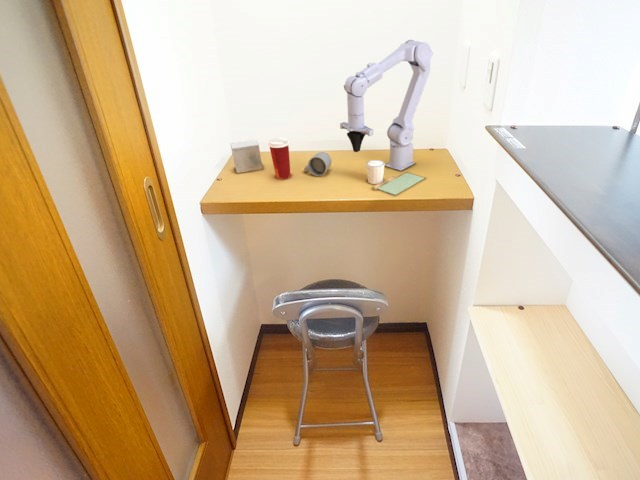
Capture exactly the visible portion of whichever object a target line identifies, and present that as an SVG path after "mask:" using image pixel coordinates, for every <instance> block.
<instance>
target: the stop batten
mask: <svg viewBox="0 0 640 480" xmlns="http://www.w3.org/2000/svg"><path fill="white" fill-rule="evenodd" d="M396 178H397V177H396V176H395V175H393V176H391V177H389V178H387V179H385V180H383V182H381V183H379V184H374V185H373V186H372V189H373V190H374V191H376V190H378V189H377V188H379V187H381V186H383V185H385V184H387V183H388V182H390V181H392V180H394V179H396Z"/></svg>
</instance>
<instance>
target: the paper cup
mask: <svg viewBox="0 0 640 480" xmlns="http://www.w3.org/2000/svg"><path fill="white" fill-rule="evenodd" d="M289 145H290V142H289V140H288V139H287V138H285V137H276V138H271V139H270V140H269V142H268V145H267V146H268V147H269V151H270V154H271V160H272V165H273V170H274V174H275V178H277V179H279V180H286V179H289V178H290V177H291V160H290V149H289V148H290V147H289Z"/></svg>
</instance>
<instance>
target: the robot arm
mask: <svg viewBox="0 0 640 480" xmlns="http://www.w3.org/2000/svg"><path fill="white" fill-rule="evenodd" d="M433 54H434V53H433V50H432V48H431V46H430V44H429V43H428V42H425V41H418V40H414V39H408V40H406V41H405V42H403V43H401V44H400V45H399V46H398V47H397V48H396V49H394V51H392V52H391V53H390V54H388V55H387V56H386V57H385V58H383V59H382V60H381V61H379V62H378V63H377V62H369V63H367V64H366V67H364V68H363V69H362V70H360V71H357V72H356V73H355V75H350V76H348V77H347V78H346V80H345V82H344V84H343V89H344V91H345V92H346V104H347V122H345V121H342V122H339V129H341V130H347V131H348V132H346V136H347V137H348V139H349V141H350V144H351V146H352V150H353V153H359V152H360V151H361V148H362V144H363V140H364V138H365V136H368V137H372V136H373V135H374V129H373V128H370V127H368V126H367V125H365V97H364V96H365V94H366V92H367V90H368V89H369V88H370V87H371V86H374V84H376V83H377V82H379V81H380V80H382V78H383V76H384V73H385V72H387V71H389V70H391V69H392V68H393V67H395V66H397V65H399V64H400V63H402V62H407V63H408V64H409V65H410V67H411V70H412V75H411V78H410V80H409V83H408V87H407V90H406V93H405V95H404V97H403V101H402V104H401V107H400V109H399V110H400V111H399V113H398V114H397V116H396V117H395V118H393V119H392V122H391V124H390V125H389V126H388V128H387V130H386V136H387V138H388V140H389V162H388V163H385V165H384V167H386V168H390V169H394V170H397V171H400V172H401V171H403V170H405V169H407V168H410V167H411V166H413V165H414V164H415V162H414V159H413V158H414V145H413V143H412V141H413V139H414V138H413V137H414V135H413V133H414V130H415V126H414V123H413V119H414V116H415V114H416V111H417V109H418V105H419V103H420V101H421V97H422V94H423V92H424V88H425V86H426V84H427V80H428V78H429V76H430V74H431V73H430V72H431V59H432V56H433Z"/></svg>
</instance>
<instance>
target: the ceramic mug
mask: <svg viewBox="0 0 640 480" xmlns="http://www.w3.org/2000/svg"><path fill="white" fill-rule="evenodd" d="M331 165H332V157H331V156H330V154H328V153H327V152H324V151H321V152H317V153H316V154H314V155H313V156H312V157H310V159H309V160H308V163H307V165H306V166H305V167H303V170H304V172H305V173H308V172H309V173H310V174H312V175H313V176H315V177H321V176H324V175H325V174H326V173H327V172H328V170H329V169H331V168H330V167H331Z"/></svg>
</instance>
